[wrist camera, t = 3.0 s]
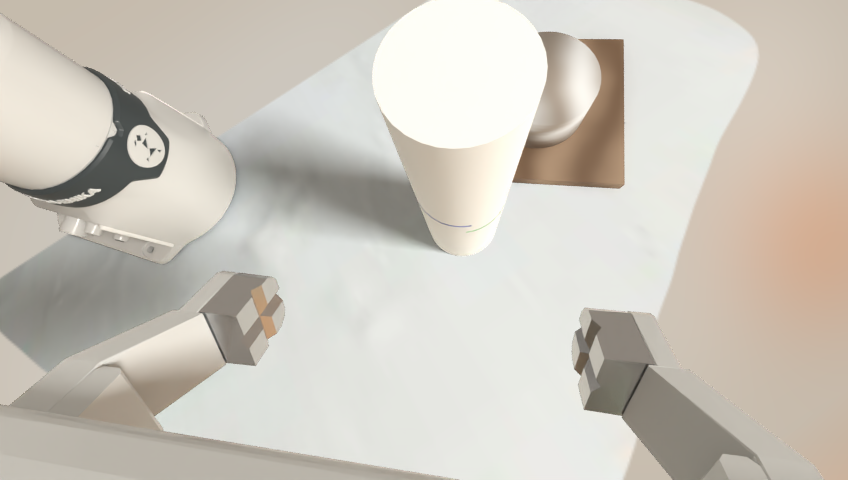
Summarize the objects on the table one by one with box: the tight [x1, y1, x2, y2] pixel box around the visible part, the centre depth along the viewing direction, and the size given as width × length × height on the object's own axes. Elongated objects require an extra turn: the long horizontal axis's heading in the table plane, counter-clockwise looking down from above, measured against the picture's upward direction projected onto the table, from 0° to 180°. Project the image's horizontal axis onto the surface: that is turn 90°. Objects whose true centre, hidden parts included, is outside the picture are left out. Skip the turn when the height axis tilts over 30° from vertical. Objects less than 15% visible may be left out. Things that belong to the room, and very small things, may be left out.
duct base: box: [512, 32, 624, 188], centre depth 38 cm, size 18×17×6 cm
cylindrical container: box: [372, 0, 548, 256], centre depth 27 cm, size 7×7×25 cm
